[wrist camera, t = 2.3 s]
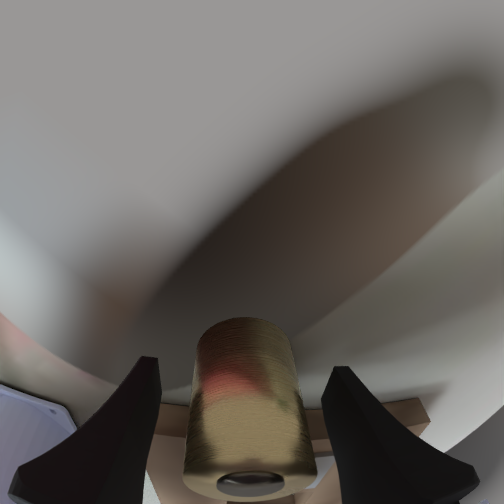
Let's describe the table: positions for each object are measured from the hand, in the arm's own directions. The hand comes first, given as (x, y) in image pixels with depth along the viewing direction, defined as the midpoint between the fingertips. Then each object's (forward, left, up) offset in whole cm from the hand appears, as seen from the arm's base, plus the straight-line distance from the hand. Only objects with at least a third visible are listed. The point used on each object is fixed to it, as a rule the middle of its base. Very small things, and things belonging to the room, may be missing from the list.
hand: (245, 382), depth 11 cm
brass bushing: (0, 0, -2) cm, 2 cm away
